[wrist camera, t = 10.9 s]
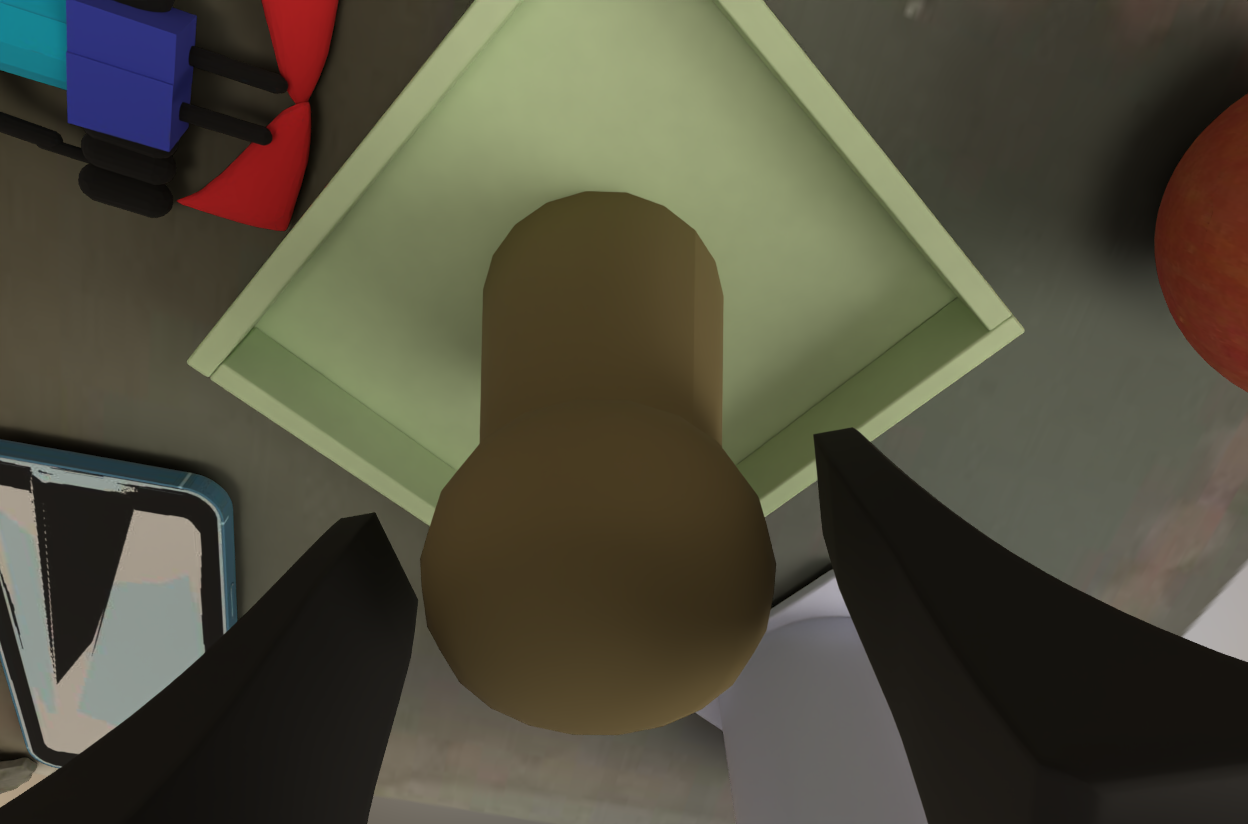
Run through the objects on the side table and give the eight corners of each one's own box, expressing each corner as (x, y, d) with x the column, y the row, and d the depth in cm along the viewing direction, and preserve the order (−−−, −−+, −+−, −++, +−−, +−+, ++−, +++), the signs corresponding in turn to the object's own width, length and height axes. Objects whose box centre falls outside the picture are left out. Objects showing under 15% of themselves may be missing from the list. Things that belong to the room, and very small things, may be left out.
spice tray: (982, 288, 20) (1026, 331, 18) (597, 578, 25) (596, 638, 23) (617, -166, 15) (619, -181, 13) (229, 317, 20) (183, 363, 18)
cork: (552, 442, 22) (510, 835, 12) (435, 255, 19) (261, 585, 9) (757, 360, 20) (883, 729, 11) (665, 145, 17) (732, 400, 8)
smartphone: (29, 765, 28) (-66, 444, 20) (45, 741, 29) (-41, 423, 21) (238, 791, 30) (224, 494, 22) (248, 767, 30) (238, 473, 22)
